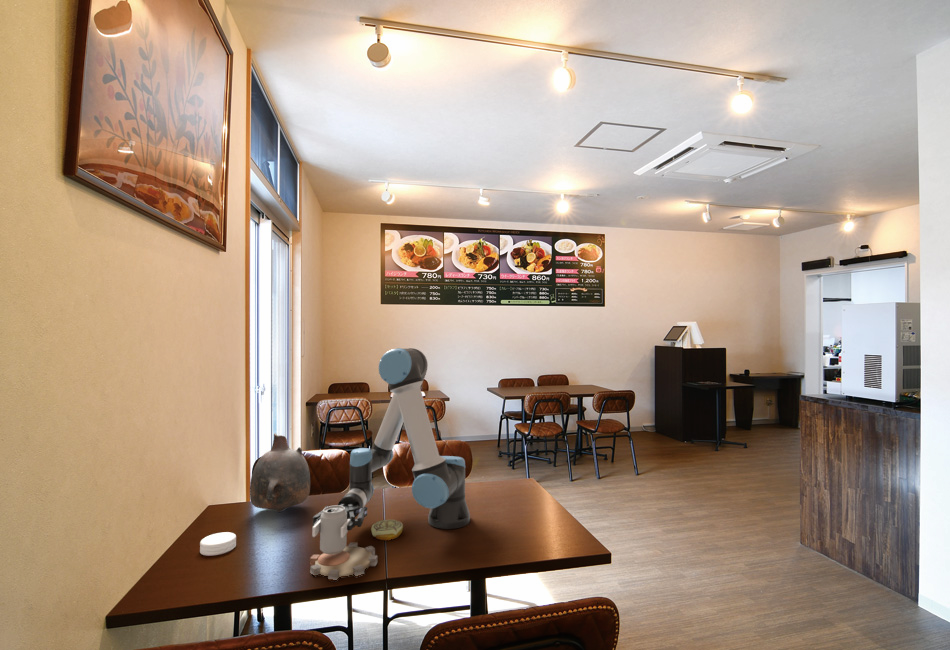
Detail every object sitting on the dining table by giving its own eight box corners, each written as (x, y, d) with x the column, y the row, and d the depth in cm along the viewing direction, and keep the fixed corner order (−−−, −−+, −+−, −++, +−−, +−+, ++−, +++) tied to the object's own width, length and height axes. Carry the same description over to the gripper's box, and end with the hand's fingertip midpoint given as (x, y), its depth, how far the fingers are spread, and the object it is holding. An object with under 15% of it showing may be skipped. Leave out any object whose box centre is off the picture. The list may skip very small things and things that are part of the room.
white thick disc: (202, 545, 146) (202, 534, 146) (237, 540, 150) (237, 529, 150) (197, 559, 137) (197, 547, 137) (234, 553, 141) (234, 541, 141)
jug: (317, 515, 171) (318, 434, 173) (255, 528, 159) (256, 441, 161) (301, 497, 192) (302, 425, 193) (244, 508, 179) (246, 431, 181)
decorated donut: (368, 542, 148) (368, 530, 148) (373, 529, 159) (373, 518, 159) (401, 541, 149) (401, 529, 149) (403, 528, 160) (403, 517, 160)
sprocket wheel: (384, 549, 143) (384, 542, 143) (367, 581, 123) (367, 573, 123) (323, 548, 143) (323, 542, 143) (297, 580, 124) (297, 572, 124)
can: (323, 544, 137) (324, 504, 138) (348, 543, 138) (349, 503, 138) (316, 556, 130) (317, 513, 130) (343, 555, 130) (344, 512, 131)
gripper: (382, 515, 151) (363, 546, 129) (321, 514, 152) (292, 545, 129) (382, 493, 152) (363, 519, 129) (322, 492, 152) (292, 518, 129)
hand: (327, 532), depth 129 cm, fingers closed on can, 7 cm apart
